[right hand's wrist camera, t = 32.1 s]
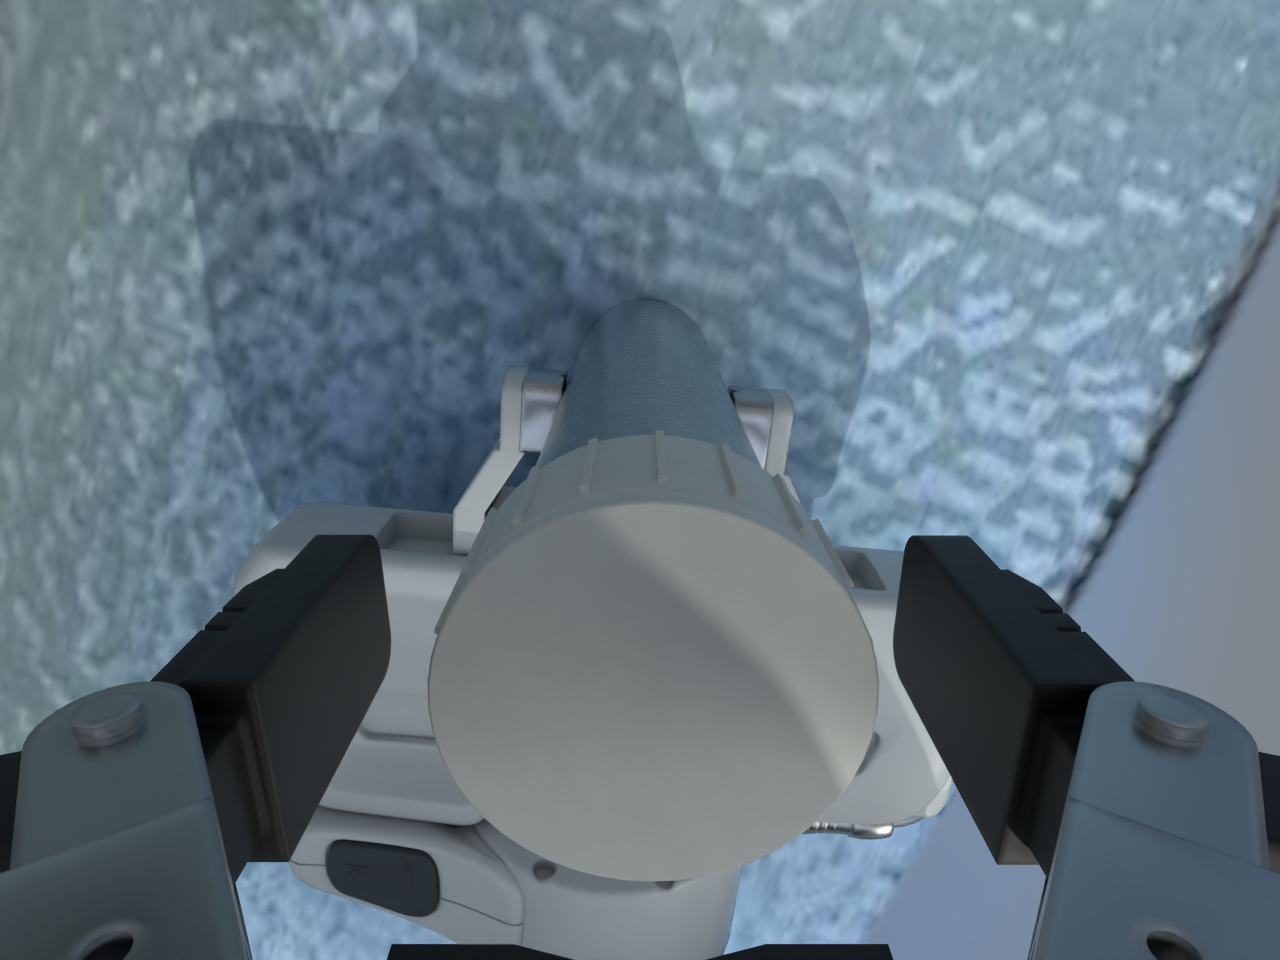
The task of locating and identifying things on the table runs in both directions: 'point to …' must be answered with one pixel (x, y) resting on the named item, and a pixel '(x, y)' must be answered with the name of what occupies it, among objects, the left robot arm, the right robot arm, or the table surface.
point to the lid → (652, 663)
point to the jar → (645, 384)
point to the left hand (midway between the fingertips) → (647, 382)
